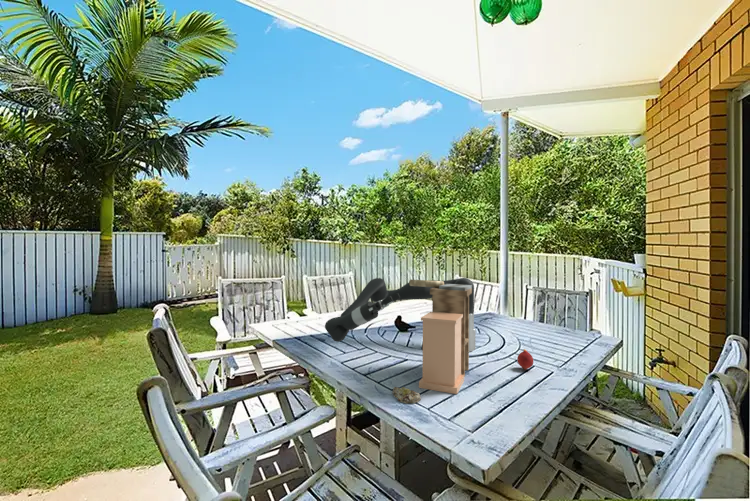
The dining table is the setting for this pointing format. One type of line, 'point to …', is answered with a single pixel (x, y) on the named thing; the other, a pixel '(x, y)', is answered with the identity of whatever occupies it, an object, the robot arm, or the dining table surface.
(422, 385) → the terracotta pedestal
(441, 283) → the trowel
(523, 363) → the onion
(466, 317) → the plant stand
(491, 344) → the dining table surface
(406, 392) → the mineral rock
